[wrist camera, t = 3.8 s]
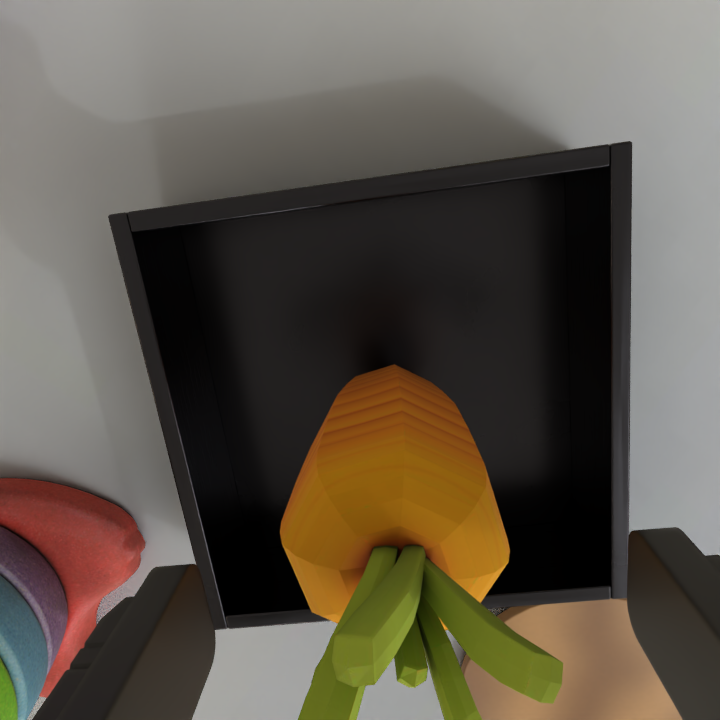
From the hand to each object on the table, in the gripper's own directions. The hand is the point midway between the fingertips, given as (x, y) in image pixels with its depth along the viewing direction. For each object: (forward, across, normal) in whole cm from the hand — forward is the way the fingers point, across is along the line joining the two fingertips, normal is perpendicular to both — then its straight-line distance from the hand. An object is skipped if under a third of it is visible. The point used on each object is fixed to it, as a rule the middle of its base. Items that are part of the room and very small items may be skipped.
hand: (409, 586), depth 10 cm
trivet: (+12, -7, +16) cm, 21 cm away
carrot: (+12, 0, 0) cm, 12 cm away
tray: (+12, 0, 0) cm, 12 cm away
